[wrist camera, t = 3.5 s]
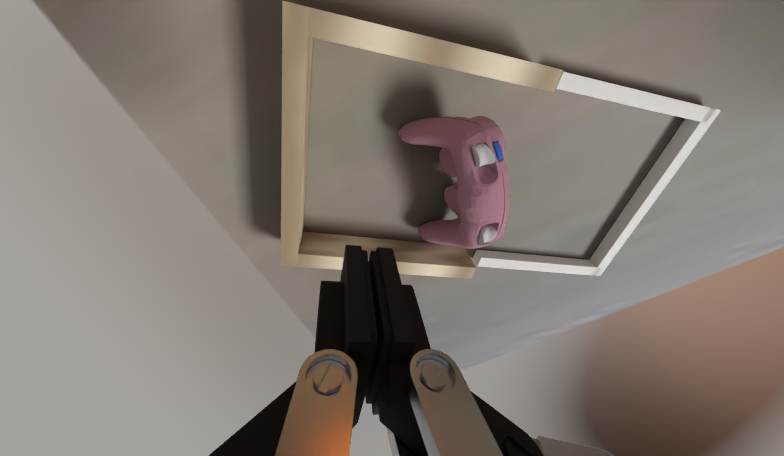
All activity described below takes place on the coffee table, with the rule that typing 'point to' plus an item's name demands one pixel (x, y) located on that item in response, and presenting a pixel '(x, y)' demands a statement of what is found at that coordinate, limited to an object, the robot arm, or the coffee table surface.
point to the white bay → (644, 196)
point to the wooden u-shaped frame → (296, 90)
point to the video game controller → (466, 178)
